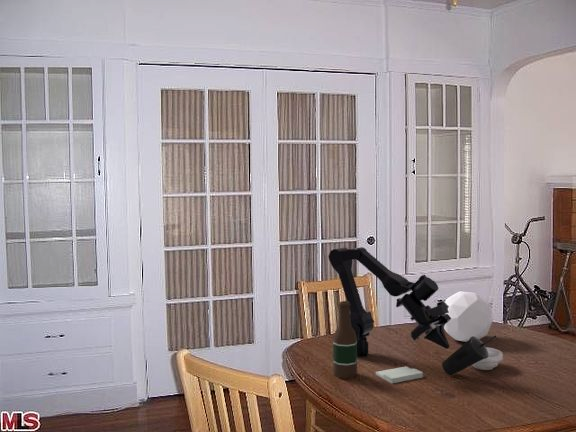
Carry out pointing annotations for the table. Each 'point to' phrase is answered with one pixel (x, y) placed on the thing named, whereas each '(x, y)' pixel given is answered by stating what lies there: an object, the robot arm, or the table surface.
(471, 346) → the drinking cup
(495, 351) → the bowl
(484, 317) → the ball
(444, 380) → the table surface
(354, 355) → the beer bottle
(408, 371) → the napkin
